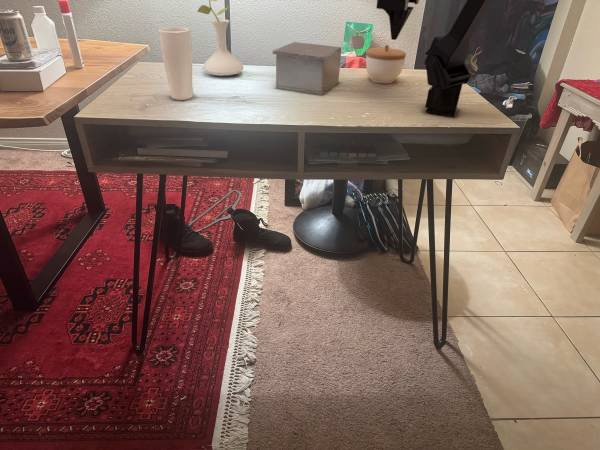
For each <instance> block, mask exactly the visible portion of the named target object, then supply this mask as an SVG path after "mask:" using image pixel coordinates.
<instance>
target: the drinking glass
mask: <svg viewBox="0 0 600 450" xmlns="http://www.w3.org/2000/svg"><path fill="white" fill-rule="evenodd" d="M191 35H192V34H191V29H189V28H188V27H184V26H166V27H161V28H158V38H159V45H160V51H161V56H162V61H163V66H164V70H165V75H166V79H167V84H168V89H169V95H170V98H171V99H173V100H176V101H187V100H190V99H193V98H194V85H193V79H194V78H193V46H192V45H193V44H192V36H191Z"/></svg>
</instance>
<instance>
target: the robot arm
mask: <svg viewBox="0 0 600 450" xmlns="http://www.w3.org/2000/svg"><path fill="white" fill-rule="evenodd" d="M494 2H495V0H466V1H465V2H464V5H463V6H462V8H461V10H460V12H459V13H458V15H457V17H456V18H455V21H454V22H453V24H452V25H451V27H450V29H449V31H448V32H447V34H445V35H439V36H435V37H434V38H433V39H432V42H431V43H430V44H431V45H430V47H429V49H428V50H427V51H426V52H425V53H424V54H425V55H426V56H425V59H424V66H425V71H426V79H427V85H428V86H430V87H429V89H428V90H427V95H426V99H425V100H426V101H425V106H424V108H426V109H425V113H428V114H432V115H433V114H434V115H439V116H446V117H452V118H453V117H456V115H457V111H458V108H459V107H458V104H459V100H460V96H461V92H462V88H463V85H467V84H468V83H469V81H470V79H471V77H472V74H471V72H470V70H469V68H468V66H467V64H466V63H465V62H466V60H467V58H468V55H469V49H470V42H471V39H472V38H473V36H474V34H475V33H476V31H477V29H478V28H479V27H480V24H481V23H482V21H483V20H484V18H485V17H486V14H487V13H488V12H489V10H490V8H491V7H492V5H493V3H494ZM409 3H410V4H411V3H412V4H414V5H418V4H419V3H420V0H376V8H375V9H378V10H383V11H384V12H385V13H386V14H387V15H388V19H389V28H390V29H389V30H390V38H391V39H390V40H392V41H397V39H398V37H399V36H400V33H401V32H402V30H403V28H404V26H405V24H406V22H407V20H408V19H409V17H410V15H411V13H412V12H413V10H414V8H415V7H414V6H409Z"/></svg>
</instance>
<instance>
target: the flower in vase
mask: <svg viewBox="0 0 600 450" xmlns="http://www.w3.org/2000/svg"><path fill="white" fill-rule="evenodd" d="M212 1H213V2H216V1H218V0H212ZM208 5H209V6H207V5H206V4H202V5H201V6H199V8H198V9H197V11H196V12H198V13H201V14H204V15H209V14H211V13H212V14H213V15H214V17H215V19H211V20H210V22H211V24H212V25H213V27H214V31H215V34H216V40H217V41H216V42H217V45H216V47H217V48H216V50H215V52H214V53H213V54H212V55H211V56H210V57H209V58H208V59H206V61H205V62H204V63H203V65H202V70H203V71H204V73H207V74H210V75H213V76H222V77H223V76H224V77H226V76H234V75H238V74H240V73H241V72H242V71H243V70H244V68H245V67H244V65H243V63H242V62H241V60H239V59H238V58H236V56H234V55H233V54H232V53H231V52H230V51H229V49H228V47H227V42H226V40H227V39H226V34H227V28H228V25H229V23H230V22H231V20H230V19H224V18H223V19H221V18H220V19H219V18H218V16H219V15H222V14H223V13H225V12H226V11H227V10H228V9H229V5H228V6H227V7H226V8H223V9H221V10H219V11H218V12H217V14H216V13H215V12H214V10H213V8H212V5H211V0H208Z"/></svg>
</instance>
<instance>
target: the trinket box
mask: <svg viewBox="0 0 600 450" xmlns="http://www.w3.org/2000/svg"><path fill="white" fill-rule="evenodd" d="M365 54H366V57H365V69H366V73H367V75H368V76H369V78H370V79H371V81H372V82H374V83H378V84H392V83H394V81H395V80H396V79H397V78H398V77H399V76H400V75H401V74H402V71H403V68H404V65H405V60H406V57H407V53H406V51H404V50H401V49H396V48H392V47H391V48H390V45H389V44H385V45H384V47H371V48H368V49H367V50H366V51H365Z"/></svg>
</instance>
